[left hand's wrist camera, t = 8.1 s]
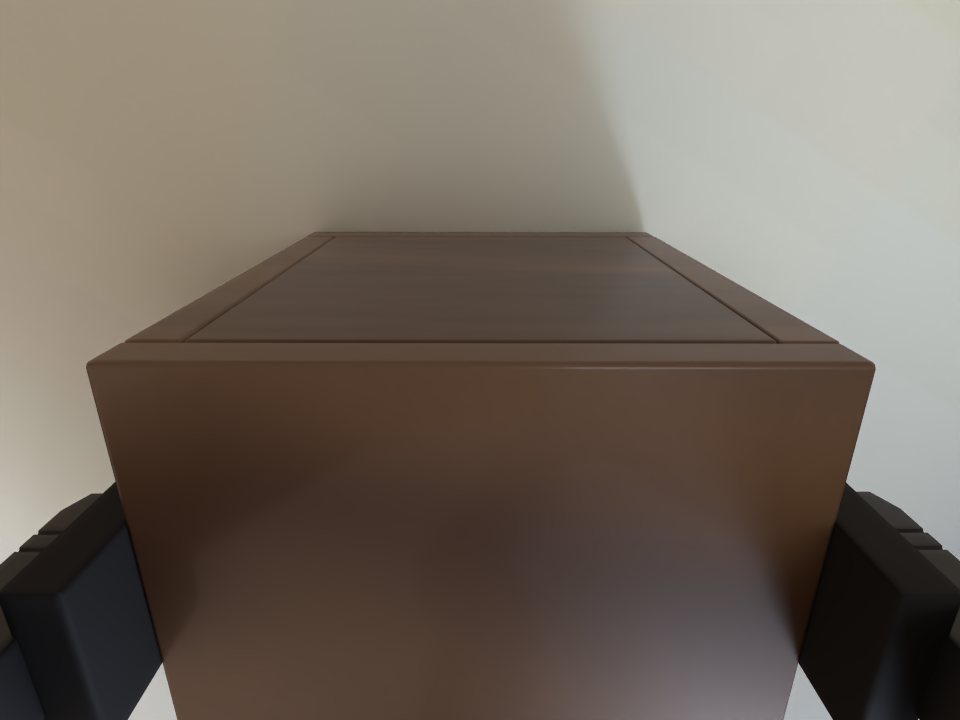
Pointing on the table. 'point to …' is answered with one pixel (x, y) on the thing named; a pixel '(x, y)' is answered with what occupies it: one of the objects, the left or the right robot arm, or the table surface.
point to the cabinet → (480, 482)
